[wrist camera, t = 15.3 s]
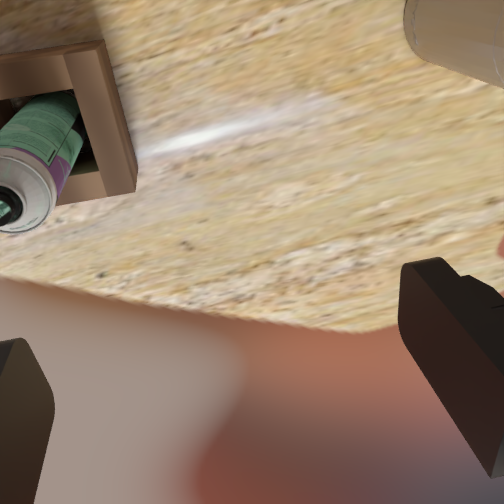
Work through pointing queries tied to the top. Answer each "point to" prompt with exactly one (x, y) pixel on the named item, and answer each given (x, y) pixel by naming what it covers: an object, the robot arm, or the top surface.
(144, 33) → the top surface
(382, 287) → the top surface
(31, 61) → the walnut holder
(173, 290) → the top surface
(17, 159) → the spray can
